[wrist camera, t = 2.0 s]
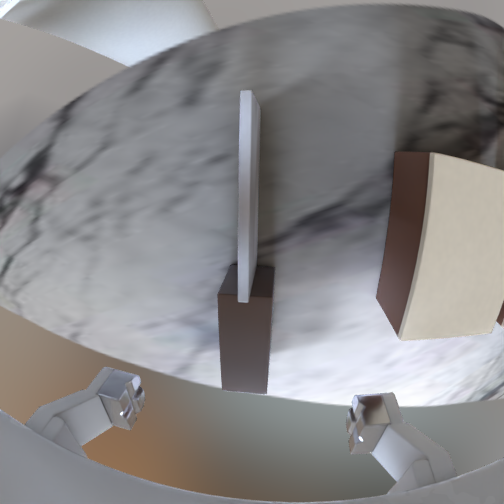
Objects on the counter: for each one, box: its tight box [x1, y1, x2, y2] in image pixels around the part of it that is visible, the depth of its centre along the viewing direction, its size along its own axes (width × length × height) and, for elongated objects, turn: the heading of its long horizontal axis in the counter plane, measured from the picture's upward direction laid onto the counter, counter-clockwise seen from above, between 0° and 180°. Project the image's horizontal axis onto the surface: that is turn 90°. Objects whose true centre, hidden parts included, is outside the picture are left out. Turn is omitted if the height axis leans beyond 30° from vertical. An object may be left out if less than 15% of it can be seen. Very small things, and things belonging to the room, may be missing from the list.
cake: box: [376, 152, 504, 341], centre depth 11 cm, size 8×6×4 cm
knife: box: [217, 90, 275, 394], centre depth 12 cm, size 13×2×4 cm, turn 179°
